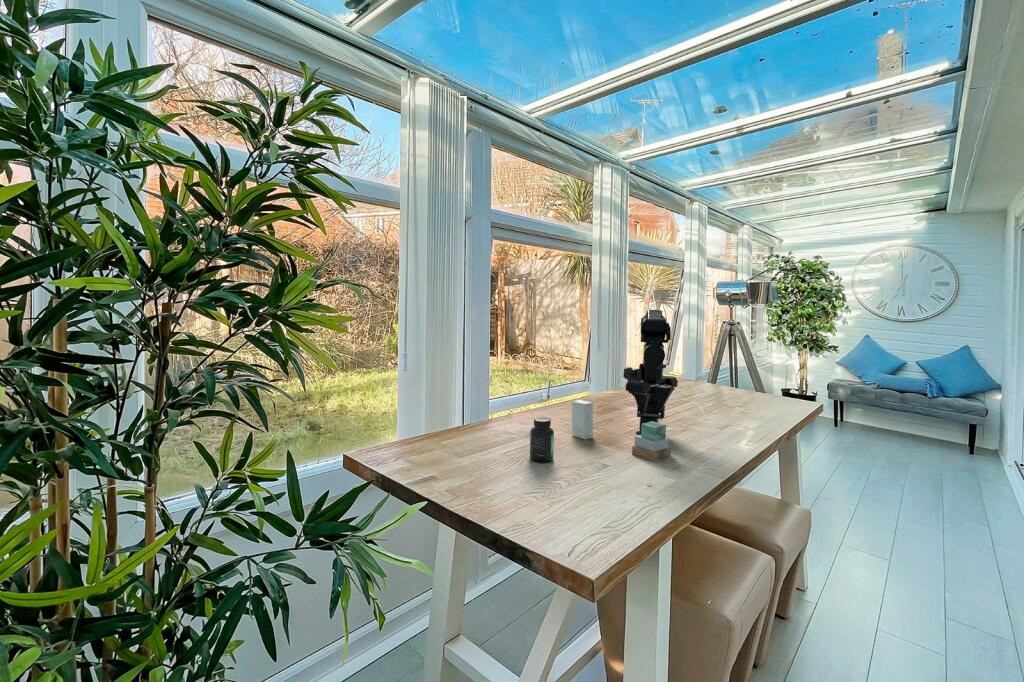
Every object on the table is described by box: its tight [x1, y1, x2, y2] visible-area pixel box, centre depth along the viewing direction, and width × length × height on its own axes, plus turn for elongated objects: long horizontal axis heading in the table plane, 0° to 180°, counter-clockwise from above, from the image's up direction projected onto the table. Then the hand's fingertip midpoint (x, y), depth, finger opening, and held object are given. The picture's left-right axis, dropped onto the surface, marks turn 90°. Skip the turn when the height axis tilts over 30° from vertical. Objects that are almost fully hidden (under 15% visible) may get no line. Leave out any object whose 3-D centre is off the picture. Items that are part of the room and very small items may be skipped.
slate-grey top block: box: [634, 434, 670, 452], centre depth 138 cm, size 7×7×3 cm
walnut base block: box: [631, 445, 672, 463], centre depth 137 cm, size 8×8×3 cm
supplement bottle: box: [529, 416, 555, 464], centre depth 132 cm, size 7×7×12 cm
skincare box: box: [571, 399, 594, 440], centre depth 155 cm, size 6×4×12 cm
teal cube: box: [641, 421, 667, 441], centre depth 137 cm, size 5×5×4 cm
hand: (650, 412), depth 137 cm, fingers open, 9 cm apart
